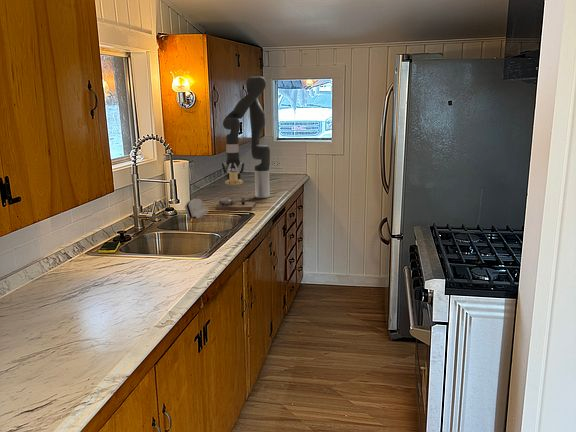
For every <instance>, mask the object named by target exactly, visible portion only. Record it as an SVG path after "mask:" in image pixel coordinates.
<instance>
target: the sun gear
mask: <svg viewBox="0 0 576 432" xmlns="http://www.w3.org/2000/svg"><path fill="white" fill-rule="evenodd" d="M234 202H235V201H234V199H232V198H222V199H218V204H219V205H221V206H222V205H224V206H227V205H228V206H229V205H233V204H234Z"/></svg>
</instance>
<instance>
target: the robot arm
mask: <svg viewBox="0 0 576 432" xmlns="http://www.w3.org/2000/svg"><path fill="white" fill-rule="evenodd" d="M245 86H246V93H247V94H245V95H244V96H243V97H242V98H241V99H240V100H238V102H237V103H236V105H235V107H234V108H233V109H232V111H231V112H229V113H228V114H227V115H226V116H225V118H224V119H223V120H222V126H223V128H224V129H225V130H230V131H229V133H227V134H226V137H225V141H226V146H225V147H226V149H225V150H226V162H221V166H222V170H223V173H224V174H226V176H227V177H226V179H227V180H229V173H230V172H231V169H234V170H236V172H238V180H239V179H240V180H241V178H242V177H241V174H243V172H244V169H245V165H246V164H245V161H244V162H241V161H240V147H239V135H240V131H241V130H240V129H241V121H240V119H242V118H243V117H244V116H245V114H246V113H247V111H248V110H249V121H250V133H251V146H250V147H251V148H250V149H251V156H252V158H253V159H254V160H257V161H258V160H260V161H261V162H260V163H259V164H256V165H255V166H254V187H255V188H254V191H255V192H254V193H255V198H259V199H261V198H262V199H263V198H265V199H266V198H270V197H271V196H270V195H271V194H270V192H271V191H270V165H271V163H270V161H271V149H270V147H269V146H268V145H266V144H265V145H264V144H260V137H261V134H262V132H263V130H264V128H265V126H266V118H265V117H266V116H265V111H264V109H263V107H262V104H260V101H259V99H258V98H259V96H260V95H261V94H262V93H263V92H264V90H265V89H266V87H267V81H266V78H264V77H263V76H249V77H247V79H246V82H245ZM226 166H227V167H228V168H227V167H226ZM239 166H241V167H239Z"/></svg>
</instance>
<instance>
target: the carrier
mask: <svg viewBox="0 0 576 432" xmlns="http://www.w3.org/2000/svg"><path fill="white" fill-rule="evenodd" d="M255 207H256V201H245V205H242V201H234V204H233V205H229V206H228V205H227V206H224V205H222V206H221V205H219V203H218V204H217V205H215V206H214V208H215V209H214V210H215V211H253V209H254V208H255Z"/></svg>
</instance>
